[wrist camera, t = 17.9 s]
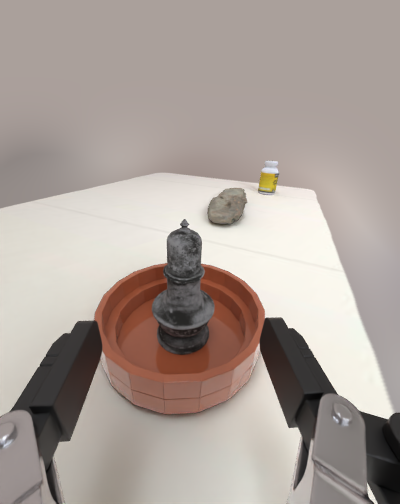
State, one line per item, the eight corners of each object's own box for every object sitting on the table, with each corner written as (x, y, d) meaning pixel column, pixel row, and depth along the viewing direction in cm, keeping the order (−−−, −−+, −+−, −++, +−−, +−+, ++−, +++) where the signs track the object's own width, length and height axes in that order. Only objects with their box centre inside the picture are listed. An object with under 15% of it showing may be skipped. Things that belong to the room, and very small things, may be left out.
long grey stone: (248, 200, 80) (221, 198, 82) (249, 185, 78) (222, 184, 80) (243, 228, 49) (200, 225, 51) (245, 204, 47) (200, 202, 49)
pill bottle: (269, 195, 82) (276, 162, 77) (254, 192, 86) (259, 160, 81) (277, 193, 86) (284, 162, 81) (262, 190, 90) (268, 160, 85)
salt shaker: (194, 305, 26) (198, 205, 20) (223, 341, 21) (239, 226, 16) (145, 322, 23) (135, 212, 17) (167, 368, 19) (163, 240, 13)
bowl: (72, 423, 15) (57, 387, 13) (124, 289, 29) (120, 261, 27) (282, 411, 16) (296, 377, 15) (237, 288, 30) (241, 262, 28)
